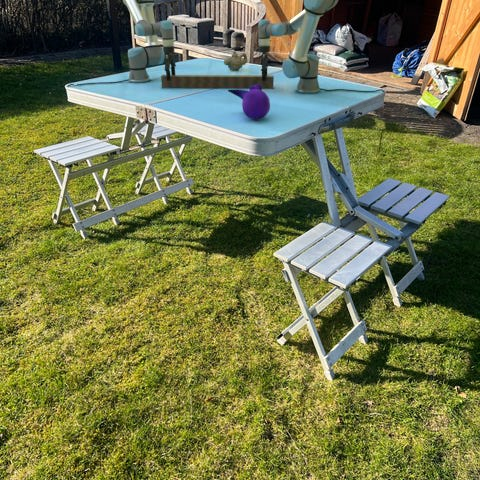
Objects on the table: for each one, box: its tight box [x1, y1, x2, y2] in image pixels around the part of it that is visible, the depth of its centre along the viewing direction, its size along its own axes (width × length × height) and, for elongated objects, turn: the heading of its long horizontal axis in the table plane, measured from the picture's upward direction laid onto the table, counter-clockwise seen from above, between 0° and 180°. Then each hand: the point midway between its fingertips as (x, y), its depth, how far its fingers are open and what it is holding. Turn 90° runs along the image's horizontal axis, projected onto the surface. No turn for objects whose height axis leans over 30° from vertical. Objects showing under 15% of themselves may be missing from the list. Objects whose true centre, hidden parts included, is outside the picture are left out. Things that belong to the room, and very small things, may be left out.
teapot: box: [223, 50, 248, 72], centre depth 366 cm, size 21×12×15 cm, turn 120°
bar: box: [160, 74, 275, 90], centre depth 312 cm, size 78×6×8 cm, turn 83°
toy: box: [227, 84, 271, 121], centre depth 243 cm, size 16×18×27 cm
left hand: (171, 78), depth 315 cm, fingers open, 13 cm apart
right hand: (264, 79), depth 307 cm, fingers open, 13 cm apart
